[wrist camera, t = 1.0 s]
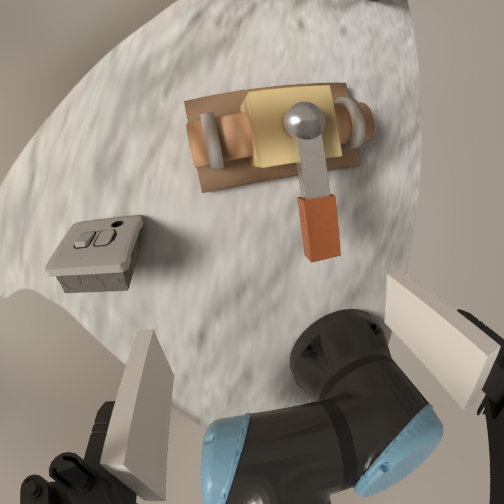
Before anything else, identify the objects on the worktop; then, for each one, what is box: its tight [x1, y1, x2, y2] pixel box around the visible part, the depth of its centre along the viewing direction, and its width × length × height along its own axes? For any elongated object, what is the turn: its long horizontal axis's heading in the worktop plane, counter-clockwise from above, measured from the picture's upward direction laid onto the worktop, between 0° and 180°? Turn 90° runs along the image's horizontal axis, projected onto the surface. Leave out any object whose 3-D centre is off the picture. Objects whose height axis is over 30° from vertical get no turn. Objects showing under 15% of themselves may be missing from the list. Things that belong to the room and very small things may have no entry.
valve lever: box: [281, 102, 341, 263], centre depth 22 cm, size 12×3×2 cm, turn 10°
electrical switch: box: [45, 215, 143, 293], centre depth 27 cm, size 9×5×9 cm, turn 92°
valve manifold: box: [184, 83, 374, 193], centre depth 26 cm, size 10×18×9 cm, turn 100°
